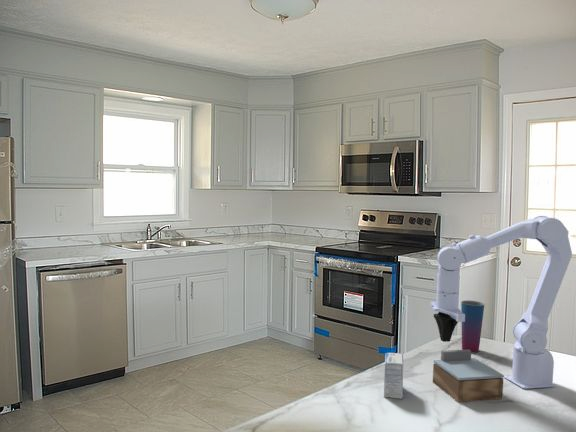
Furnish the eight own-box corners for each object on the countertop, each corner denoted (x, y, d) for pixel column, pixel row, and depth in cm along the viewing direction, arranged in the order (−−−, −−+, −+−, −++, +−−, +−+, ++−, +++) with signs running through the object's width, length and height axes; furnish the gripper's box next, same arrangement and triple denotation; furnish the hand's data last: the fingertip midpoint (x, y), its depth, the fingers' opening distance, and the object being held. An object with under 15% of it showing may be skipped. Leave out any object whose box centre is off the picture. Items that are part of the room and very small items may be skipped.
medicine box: (402, 399, 120) (403, 364, 119) (383, 397, 121) (384, 362, 120) (401, 386, 127) (403, 353, 127) (383, 384, 128) (385, 351, 128)
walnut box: (473, 379, 133) (474, 361, 133) (502, 398, 122) (503, 378, 121) (432, 382, 131) (433, 363, 130) (457, 402, 119) (458, 381, 119)
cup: (460, 352, 155) (463, 304, 154) (457, 345, 162) (459, 299, 161) (483, 354, 154) (486, 306, 153) (479, 347, 160) (481, 301, 159)
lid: (474, 360, 133) (475, 349, 133) (503, 377, 121) (504, 365, 121) (433, 362, 130) (434, 351, 130) (459, 380, 119) (459, 368, 119)
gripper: (421, 286, 142) (419, 333, 143) (448, 298, 128) (446, 350, 128) (443, 285, 143) (441, 332, 144) (473, 297, 129) (470, 349, 130)
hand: (445, 340), depth 136 cm, fingers closed
